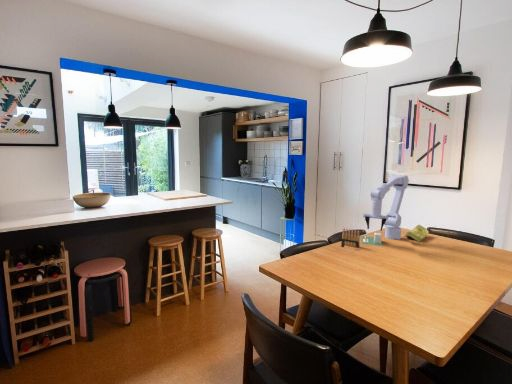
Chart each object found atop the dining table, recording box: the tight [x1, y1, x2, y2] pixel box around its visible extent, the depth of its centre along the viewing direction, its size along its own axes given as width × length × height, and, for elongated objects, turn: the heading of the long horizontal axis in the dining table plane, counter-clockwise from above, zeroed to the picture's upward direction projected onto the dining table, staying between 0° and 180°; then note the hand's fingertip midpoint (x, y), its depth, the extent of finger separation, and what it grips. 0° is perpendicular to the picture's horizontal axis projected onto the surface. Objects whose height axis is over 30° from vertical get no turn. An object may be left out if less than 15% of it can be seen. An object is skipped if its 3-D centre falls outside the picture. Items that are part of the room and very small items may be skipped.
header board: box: [360, 235, 384, 247], centre depth 187 cm, size 12×18×4 cm, turn 162°
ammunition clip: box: [340, 227, 361, 251], centre depth 177 cm, size 11×2×12 cm, turn 55°
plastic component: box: [403, 224, 430, 242], centre depth 202 cm, size 20×7×10 cm
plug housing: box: [373, 232, 382, 244], centre depth 185 cm, size 4×7×5 cm, turn 162°
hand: (374, 229), depth 183 cm, fingers open, 7 cm apart
